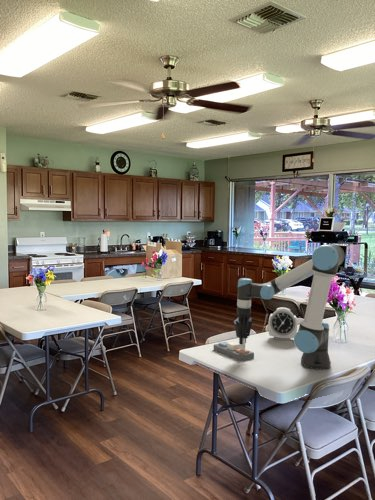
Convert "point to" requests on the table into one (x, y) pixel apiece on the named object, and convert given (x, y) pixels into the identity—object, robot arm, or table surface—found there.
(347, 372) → the table surface
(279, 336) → the alarm clock
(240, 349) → the terracotta key
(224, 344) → the blue key
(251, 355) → the key board
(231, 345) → the cream key
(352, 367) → the table surface
